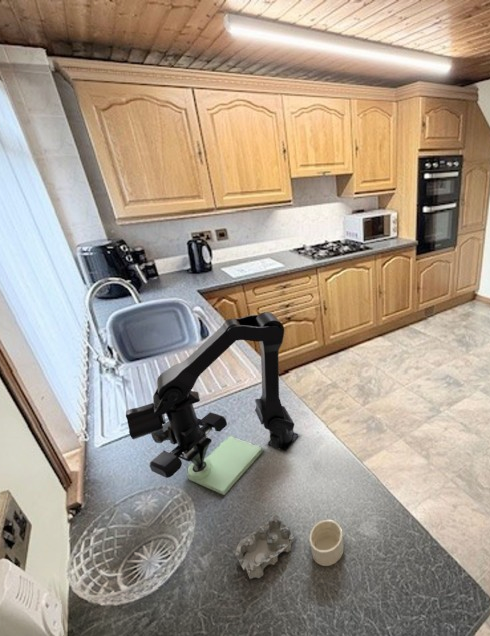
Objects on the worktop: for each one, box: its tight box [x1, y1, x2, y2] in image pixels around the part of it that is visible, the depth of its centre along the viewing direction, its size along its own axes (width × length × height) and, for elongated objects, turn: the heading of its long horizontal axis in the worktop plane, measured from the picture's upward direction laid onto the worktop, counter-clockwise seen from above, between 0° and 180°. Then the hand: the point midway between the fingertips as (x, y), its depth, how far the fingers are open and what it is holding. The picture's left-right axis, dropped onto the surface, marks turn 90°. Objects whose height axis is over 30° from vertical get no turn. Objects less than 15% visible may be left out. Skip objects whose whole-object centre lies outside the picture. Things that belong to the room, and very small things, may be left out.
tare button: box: [194, 462, 206, 472], centre depth 90 cm, size 3×3×2 cm
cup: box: [308, 519, 345, 567], centre depth 71 cm, size 7×7×5 cm
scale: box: [187, 435, 264, 496], centre depth 93 cm, size 15×13×3 cm
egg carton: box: [234, 514, 295, 580], centre depth 72 cm, size 11×8×4 cm
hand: (199, 466), depth 90 cm, fingers closed, pressing on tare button
